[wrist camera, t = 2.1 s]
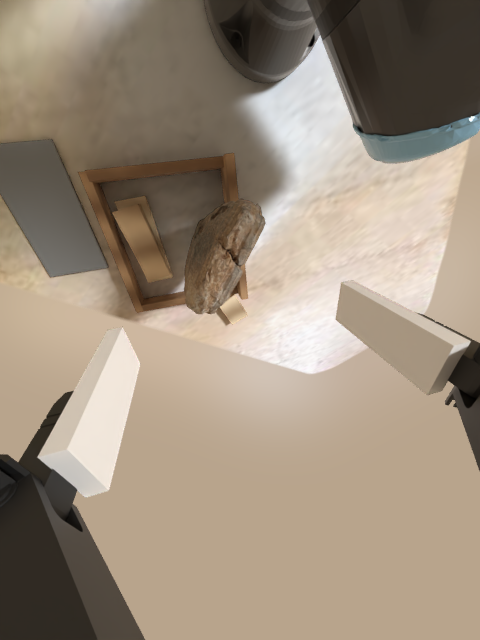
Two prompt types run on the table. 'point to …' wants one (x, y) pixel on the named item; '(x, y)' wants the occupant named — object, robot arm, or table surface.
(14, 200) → the mat
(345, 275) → the table surface
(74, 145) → the table surface
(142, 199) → the offcut
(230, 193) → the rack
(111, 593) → the robot arm
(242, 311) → the offcut
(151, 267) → the offcut
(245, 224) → the brown rock
